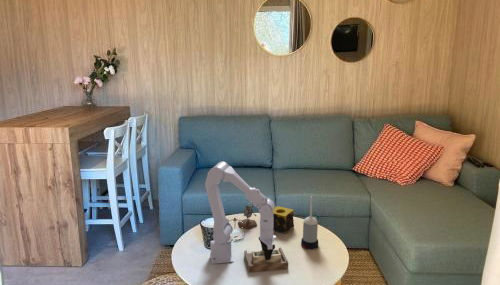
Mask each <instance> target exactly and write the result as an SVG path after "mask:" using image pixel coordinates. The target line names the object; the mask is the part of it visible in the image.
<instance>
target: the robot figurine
mask: <svg viewBox="0 0 500 285" xmlns="http://www.w3.org/2000/svg"><path fill="white" fill-rule="evenodd" d="M253 208H254V206H253V205H251V202H248V205H246V206H245V209H244V210H243V217H246V218H245V219H242V220H239V221H238V223H237V224H238V227H239V226H240V227H243V228H242V229H245V230H252V229H254V228H257V226H258V224H257V221H256V220H255V219H250V218H251V217H252V215H253V216H255V217H257V214H256V213H254V211H253ZM240 221H242V222H243V223H242V222H240ZM240 227H239V228H240Z"/></svg>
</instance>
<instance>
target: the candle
mask: <svg viewBox="0 0 500 285" xmlns="http://www.w3.org/2000/svg"><path fill="white" fill-rule="evenodd" d="M294 211H295V209H292V208H288V207H284V206H278V205H277V206H275V207H274V210H273V217H274V225H273V232H276V233H280V234H283V235H284V234H287V233H288V232H290V231H291V229H292V228H294V227H295V224H294V223H295V222H294V221H295V220H294V213H295V212H294Z"/></svg>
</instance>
